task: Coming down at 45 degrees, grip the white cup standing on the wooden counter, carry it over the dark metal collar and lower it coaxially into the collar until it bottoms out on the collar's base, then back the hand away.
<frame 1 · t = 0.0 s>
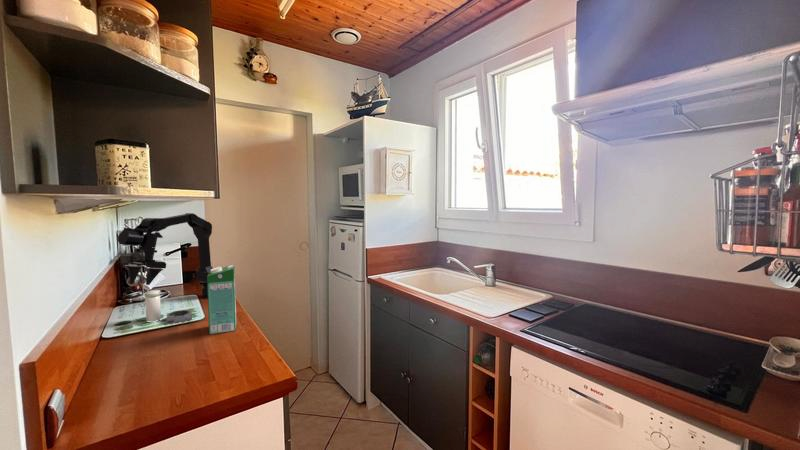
hand: (139, 283, 137), 15 cm above the countertop, tool pointing down, fingers open, 9 cm apart
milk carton: (223, 328, 131), on the countertop
collar: (179, 319, 139), on the countertop
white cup: (153, 320, 137), on the countertop
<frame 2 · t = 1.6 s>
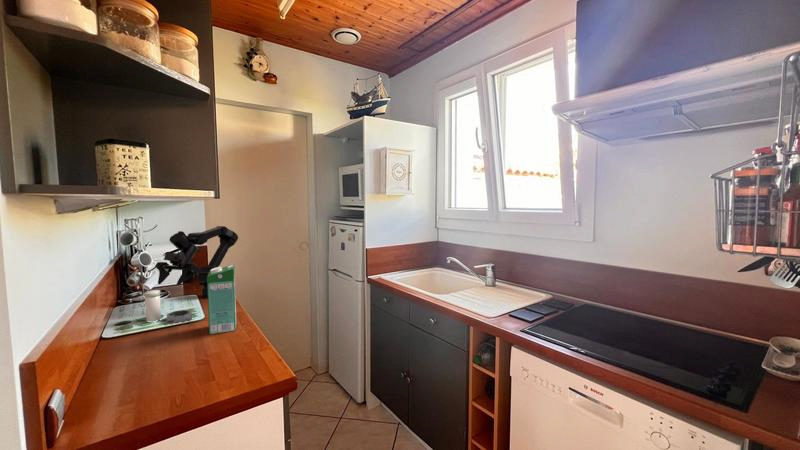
hand: (168, 284, 144), 13 cm above the countertop, tool tilted 45°, fingers open, 9 cm apart
nothing on the countertop moved.
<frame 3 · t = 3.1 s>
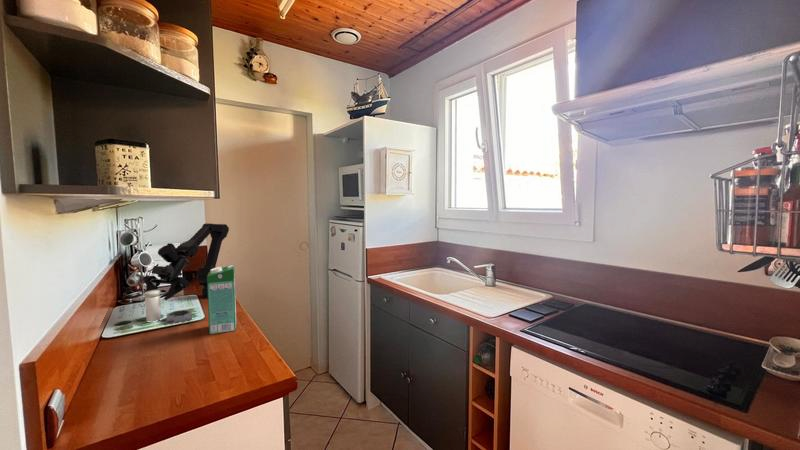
hand: (155, 299, 138), 9 cm above the countertop, tool tilted 45°, fingers open, 9 cm apart
nothing on the countertop moved.
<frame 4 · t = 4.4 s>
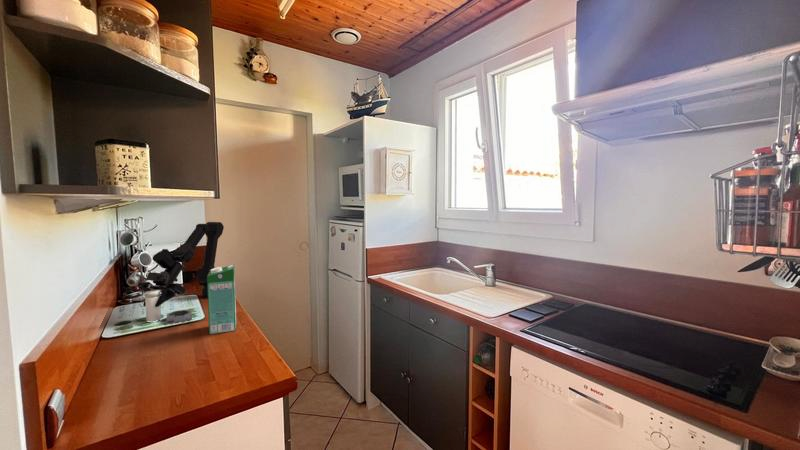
hand: (150, 306, 136), 7 cm above the countertop, tool tilted 45°, fingers closed on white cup, 5 cm apart
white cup: (153, 320, 137), on the countertop, touching gripper
everything else where it was.
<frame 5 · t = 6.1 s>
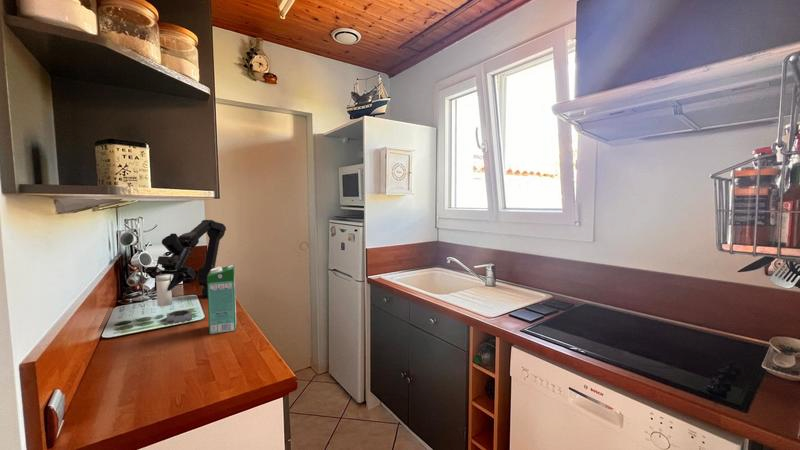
hand: (161, 290, 135), 13 cm above the countertop, tool tilted 45°, fingers closed on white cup, 5 cm apart
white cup: (164, 304, 137), point 7 cm above the countertop, touching gripper
everything else where it was.
when the fingers open (9 cm above the countertop, at t = 7.9 s): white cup drops 2 cm, resting on collar.
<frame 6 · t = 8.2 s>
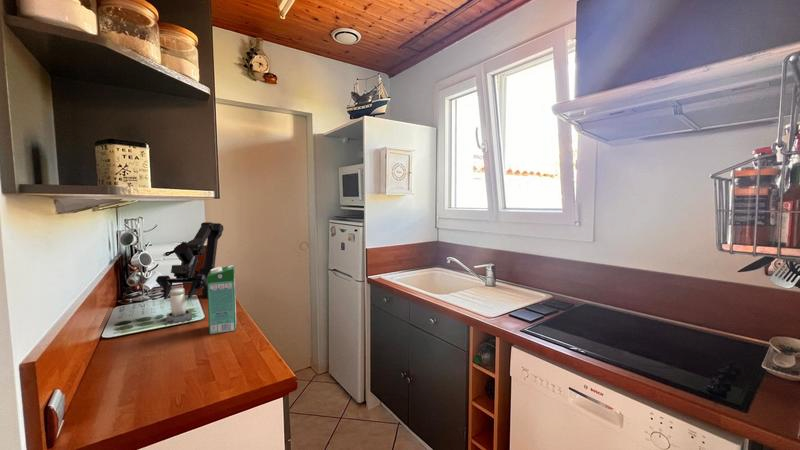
hand: (176, 298, 137), 10 cm above the countertop, tool tilted 45°, fingers open, 9 cm apart
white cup: (179, 317, 139), point 1 cm above the countertop, touching collar
everything else where it was.
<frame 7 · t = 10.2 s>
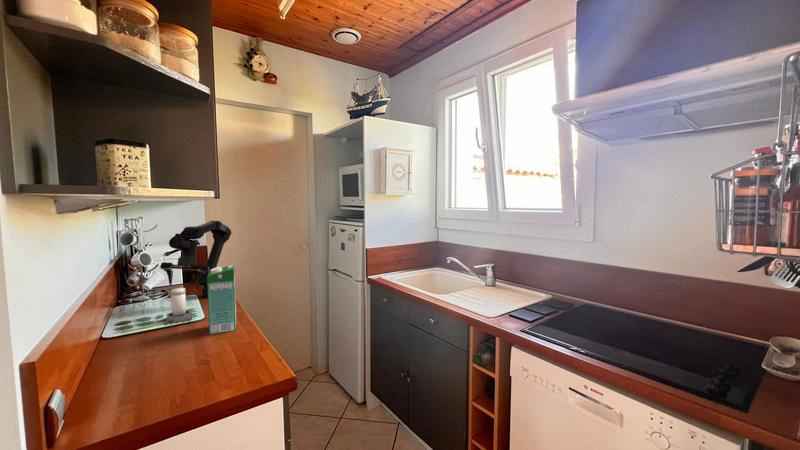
hand: (182, 286, 149), 11 cm above the countertop, tool tilted 20°, fingers open, 9 cm apart
nothing on the countertop moved.
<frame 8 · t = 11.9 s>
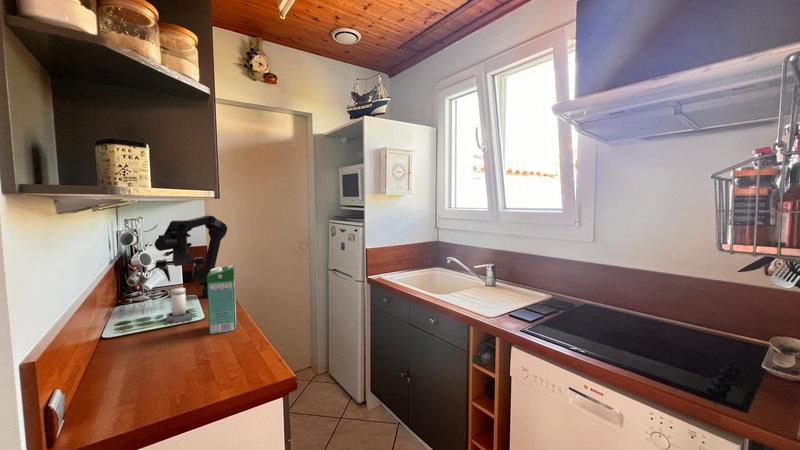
hand: (181, 280, 153), 13 cm above the countertop, tool pointing down, fingers open, 9 cm apart
nothing on the countertop moved.
at the end: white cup 0.0 cm off-centre on the collar, point 0.6 cm above the collar's base; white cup tilted 0°; the gripper is holding nothing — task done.
